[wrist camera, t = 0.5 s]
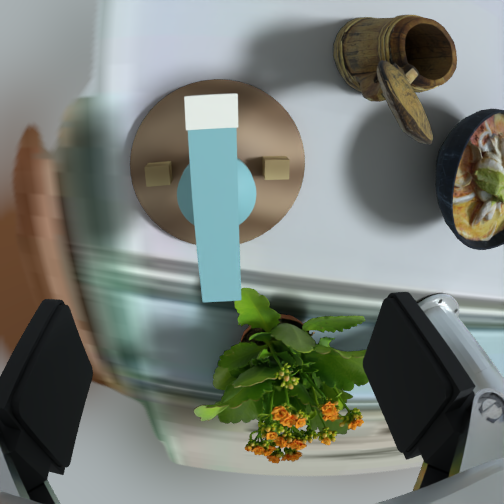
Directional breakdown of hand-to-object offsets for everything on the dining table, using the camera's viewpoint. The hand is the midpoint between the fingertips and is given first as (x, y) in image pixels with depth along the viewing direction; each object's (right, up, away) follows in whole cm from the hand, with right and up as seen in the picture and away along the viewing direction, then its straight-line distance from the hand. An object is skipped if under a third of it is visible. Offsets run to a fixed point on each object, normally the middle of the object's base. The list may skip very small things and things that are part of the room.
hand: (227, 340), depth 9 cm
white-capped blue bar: (-2, +8, +16) cm, 18 cm away
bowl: (+28, +14, +26) cm, 41 cm away
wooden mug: (+12, +22, +20) cm, 32 cm away
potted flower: (+4, -9, +36) cm, 37 cm away
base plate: (-3, +12, +24) cm, 27 cm away
